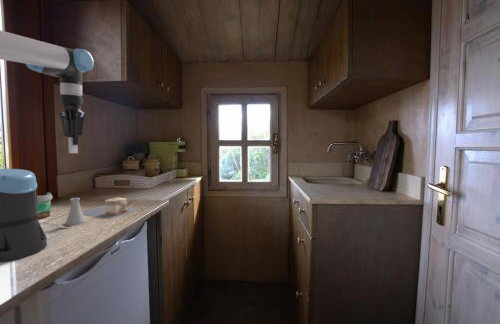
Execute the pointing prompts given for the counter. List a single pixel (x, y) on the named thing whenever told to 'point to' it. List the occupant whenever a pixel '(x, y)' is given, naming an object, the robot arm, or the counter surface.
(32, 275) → the counter surface
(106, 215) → the rubber mat
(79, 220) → the flask
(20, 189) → the robot arm
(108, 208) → the birch cube
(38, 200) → the food container
